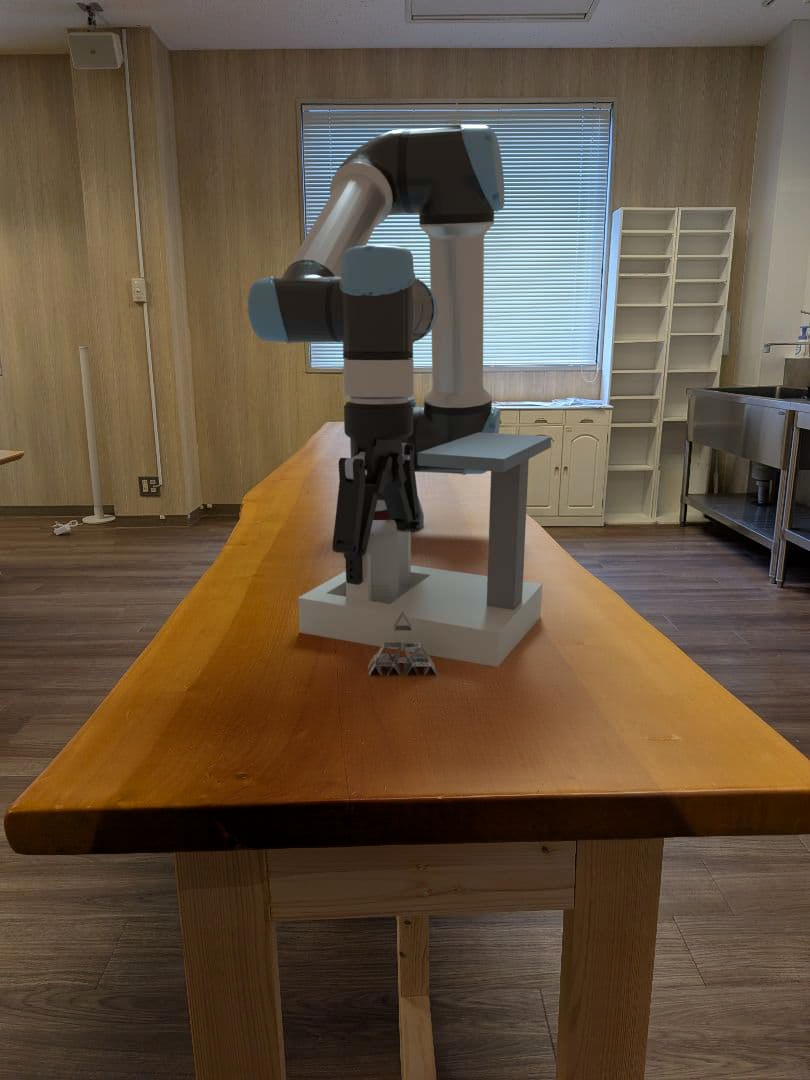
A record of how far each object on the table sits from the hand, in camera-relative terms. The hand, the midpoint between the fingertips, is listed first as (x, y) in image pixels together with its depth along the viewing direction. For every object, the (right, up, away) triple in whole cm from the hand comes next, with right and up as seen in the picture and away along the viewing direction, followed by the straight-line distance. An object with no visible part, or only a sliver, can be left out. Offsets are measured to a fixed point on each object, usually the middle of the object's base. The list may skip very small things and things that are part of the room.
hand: (380, 595), depth 85 cm
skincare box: (0, -4, +1) cm, 4 cm away
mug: (-3, +1, +18) cm, 18 cm away
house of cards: (+3, -8, -11) cm, 14 cm away
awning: (+12, 0, -6) cm, 13 cm away
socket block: (+5, -4, -1) cm, 7 cm away
